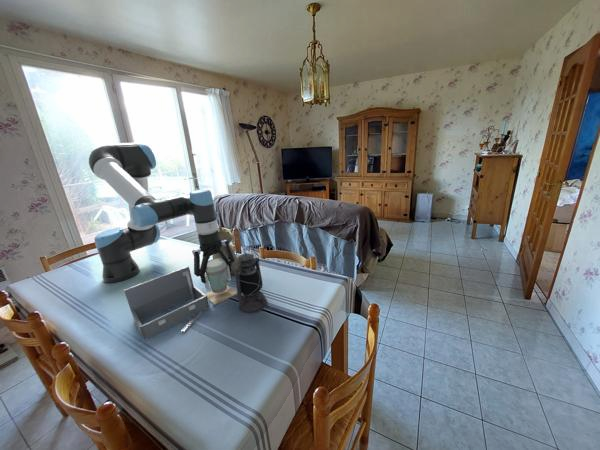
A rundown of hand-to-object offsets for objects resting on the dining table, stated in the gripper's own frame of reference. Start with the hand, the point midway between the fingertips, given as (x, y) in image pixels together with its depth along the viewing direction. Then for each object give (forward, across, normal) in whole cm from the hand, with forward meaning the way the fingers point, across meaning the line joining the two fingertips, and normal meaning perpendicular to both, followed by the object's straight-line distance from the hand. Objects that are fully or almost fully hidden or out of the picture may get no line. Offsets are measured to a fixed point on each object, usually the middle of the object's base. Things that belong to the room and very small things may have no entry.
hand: (218, 284), depth 99 cm
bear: (+5, +14, +14) cm, 20 cm away
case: (+5, -18, +2) cm, 19 cm away
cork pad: (+5, 0, 0) cm, 5 cm away
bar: (+5, -15, -8) cm, 18 cm away
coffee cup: (+3, 0, 0) cm, 3 cm away
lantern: (+5, +5, -16) cm, 18 cm away
